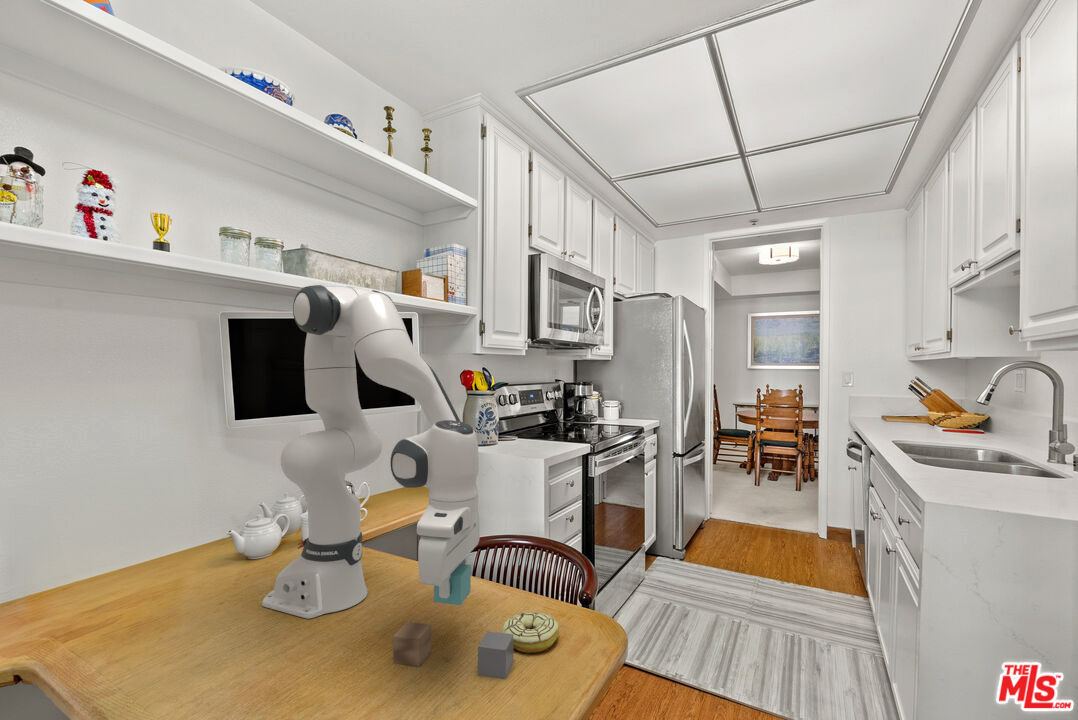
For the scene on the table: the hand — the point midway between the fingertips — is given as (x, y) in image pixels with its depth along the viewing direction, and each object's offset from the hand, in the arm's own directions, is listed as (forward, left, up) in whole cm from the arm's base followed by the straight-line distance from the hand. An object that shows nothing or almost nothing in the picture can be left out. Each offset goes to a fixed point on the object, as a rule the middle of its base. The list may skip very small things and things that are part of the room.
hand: (452, 587), depth 87 cm
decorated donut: (+12, +10, -14) cm, 21 cm away
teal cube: (0, 0, -2) cm, 2 cm away
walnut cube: (-8, 0, -13) cm, 15 cm away
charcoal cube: (+8, 0, -13) cm, 16 cm away
